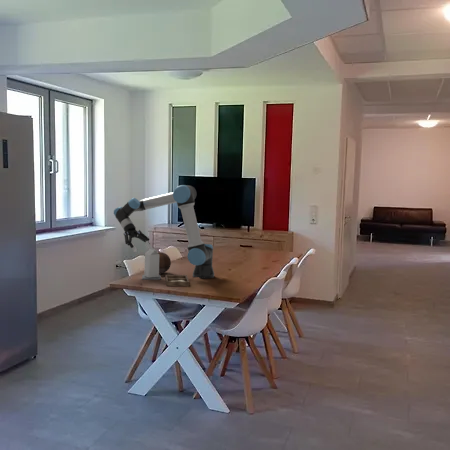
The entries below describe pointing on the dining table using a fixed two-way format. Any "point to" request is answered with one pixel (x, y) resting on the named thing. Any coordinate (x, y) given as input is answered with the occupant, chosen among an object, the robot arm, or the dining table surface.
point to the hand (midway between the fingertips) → (143, 250)
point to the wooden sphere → (164, 262)
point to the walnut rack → (171, 281)
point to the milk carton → (151, 263)
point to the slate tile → (151, 278)
